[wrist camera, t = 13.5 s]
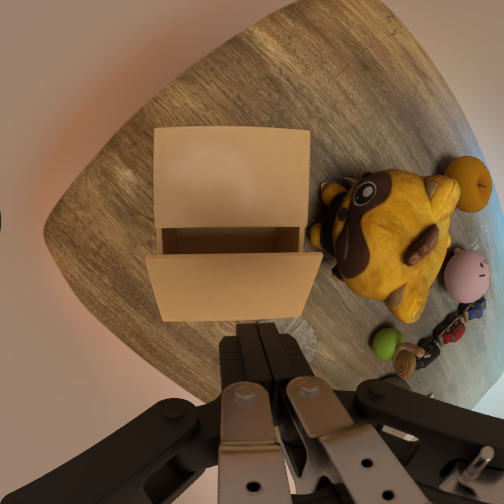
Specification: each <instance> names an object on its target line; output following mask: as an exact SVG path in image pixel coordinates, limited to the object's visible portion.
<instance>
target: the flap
mask: <svg viewBox="0 0 504 504" xmlns="http://www.w3.org/2000/svg"><path fill="white" fill-rule="evenodd" d="M322 258H323V253H322V252H294V253H235V254H174V255H145V262H146V266H147V270H148V273H149V277H150V281H151V284H152V287H153V291H154V294H155V298H156V301H157V304H158V307H159V311H160V314H161V317H162V320H163V321H232V320H256V319H274V318H290V317H300V316H301V313H302V311H303V308H304V306H305V303H306V301H307V298H308V296H309V293H310V290H311V288H312V285H313V282H314V280H315V277H316V274H317V272H318V269H319V266H320V263H321V261H322Z"/></svg>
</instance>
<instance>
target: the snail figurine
mask: <svg viewBox="0 0 504 504" xmlns="http://www.w3.org/2000/svg"><path fill="white" fill-rule="evenodd" d="M372 347H373V351H374V353H375V355H376V356H377V357H378V358H379V359H381V360H385V361H390V360H393V361H392V363H393V368H394V369H395V371H396V373H397V375H398V376H399V377H400V378H403V379H406V378H409V377H410V376H411V375H412V374H413V372H414V371H415V367H416V357H415V355H414V353H415V354H416V356H417V357H422V356H423V355H424V358H427V357H430V356H431V354H428V353H427V354H424V353H425V351H424V349H423V348H420V347H418V346H416V345H414V344H412V343H408V342H405V343H404V338H403V335H402V334H401V332H400V331H398V330H397V329H394V328H385V329H382V330H381V331H379V332H378V333H377V334H376V336H375V337H374V340H373V344H372Z"/></svg>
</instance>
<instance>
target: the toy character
mask: <svg viewBox="0 0 504 504" xmlns="http://www.w3.org/2000/svg"><path fill="white" fill-rule="evenodd" d="M344 179H346V180H347V181H348V183H349V184H350V186H351V189H350V190H349V191H347V190H346V189H345V188H344V187H342V186H340V185H339V184H338V183H327V182H324V183H322V184H321V192H322V200H323V201H324V203H325V204H326V205H327V206H328V207H329V209H328V214H325V215H324V221H323V223H316V224H314V225H313V226H311V227H310V230H309V237H310V243H311V245H313V246H314V247H316V248H318V249H322V250H325V251H327V252H328V253H330V254H331V255H332V256H334V257H335V258H336V262H337V264H336V266H335V267H334V268H333V269H331V270H332V277H333V278H334V279H335V280H337V281H344V282H345V283H346V285H347V286H348V287H349V288H350V290H352V291H353V292H354V293H356V294H358V295H360V296H363V297H366V298H369V299H374V300H379V301H382V302H384V303H385V305H386V306H387V307H388V309H389V310H390V311H391V312H392V313H393V314H394V316H395V317H396V318H397V319H399V320H400V321H402V322H404V323H414V322H416V321H417V320H418V319H419V318H420V316H421V314H422V312H423V309H424V307H425V304H426V301H427V297H428V293H429V291H430V289H431V288H432V283H433V281H434V280H435V278H436V276H437V274H438V272H439V270H440V268H441V266H442V264H443V261H444V258H445V255H446V252H447V248H448V247H449V246H450V244H451V238H450V234H449V232H448V228H449V225H450V215H451V214H452V212H453V211H454V209H455V207H456V205H457V203H458V201H459V197H460V187H459V185H458V182H457V181H456V180H455V179H453V178H452V177H447V176H443V175H430V176H426V177H422V176H418V175H417V174H414V173H410V172H406V171H403V170H399V169H388V170H383V171H380V172H376V173H374V172H373V171H371V170H367V171H365V172H364V173H363V175H362V179H361V180H359V181H357V180H355V179H352V178H347V177H346V178H344Z"/></svg>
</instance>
